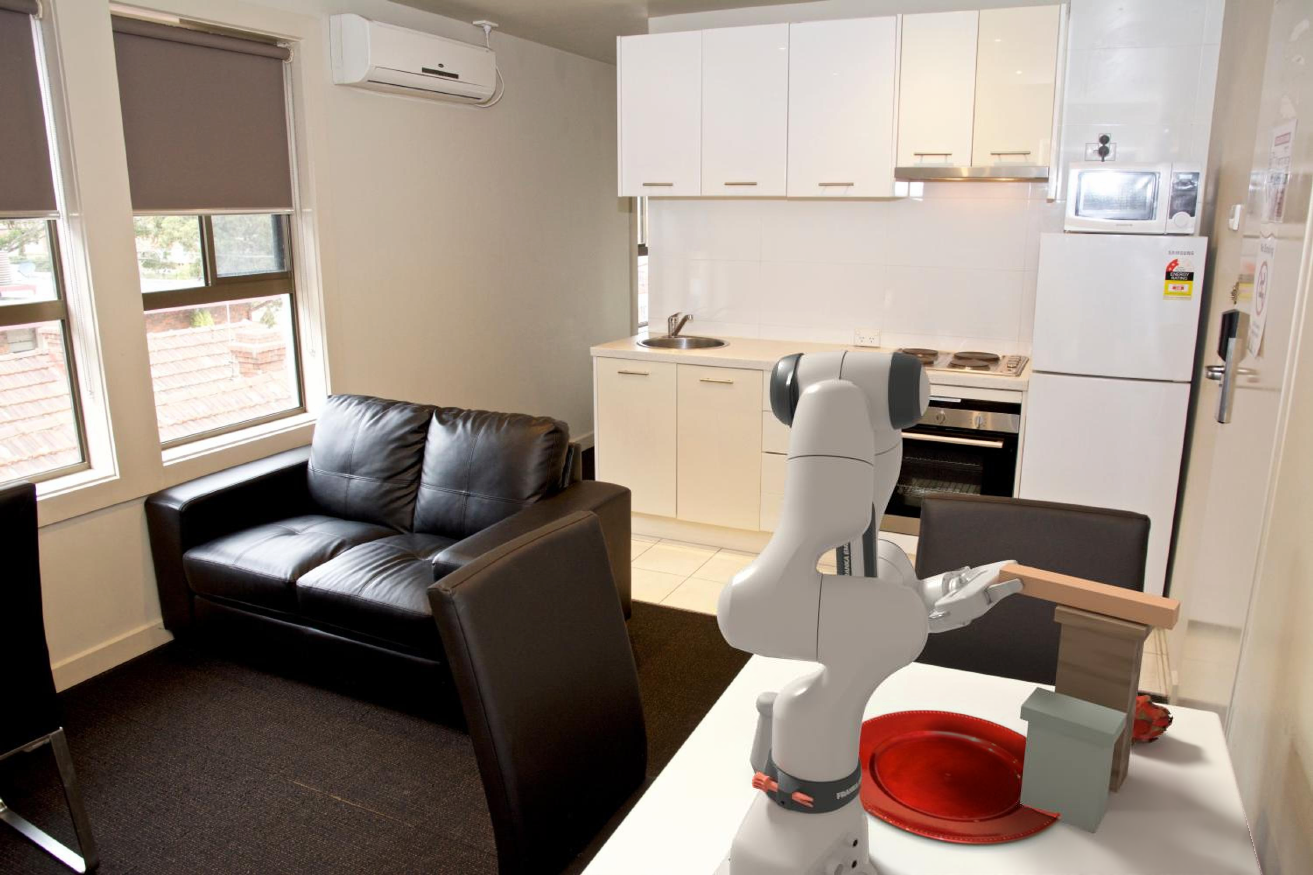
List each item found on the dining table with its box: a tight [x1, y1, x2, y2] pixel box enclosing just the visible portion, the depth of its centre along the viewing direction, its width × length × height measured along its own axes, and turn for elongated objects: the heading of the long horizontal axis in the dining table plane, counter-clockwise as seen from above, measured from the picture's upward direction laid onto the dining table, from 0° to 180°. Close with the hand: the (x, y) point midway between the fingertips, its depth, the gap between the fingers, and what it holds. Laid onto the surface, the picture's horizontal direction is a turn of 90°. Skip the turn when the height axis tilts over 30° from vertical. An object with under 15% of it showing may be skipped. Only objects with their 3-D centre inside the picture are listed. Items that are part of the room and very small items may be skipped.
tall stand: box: [1053, 603, 1156, 793], centre depth 141 cm, size 7×12×26 cm, turn 51°
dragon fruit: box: [1131, 694, 1174, 745], centre depth 153 cm, size 8×8×12 cm
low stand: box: [1019, 686, 1127, 834], centre depth 133 cm, size 7×12×16 cm, turn 51°
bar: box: [998, 563, 1181, 631], centre depth 140 cm, size 4×24×3 cm, turn 51°
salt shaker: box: [749, 691, 779, 775], centre depth 142 cm, size 6×6×13 cm
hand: (1028, 578), depth 145 cm, fingers closed on bar, 4 cm apart
